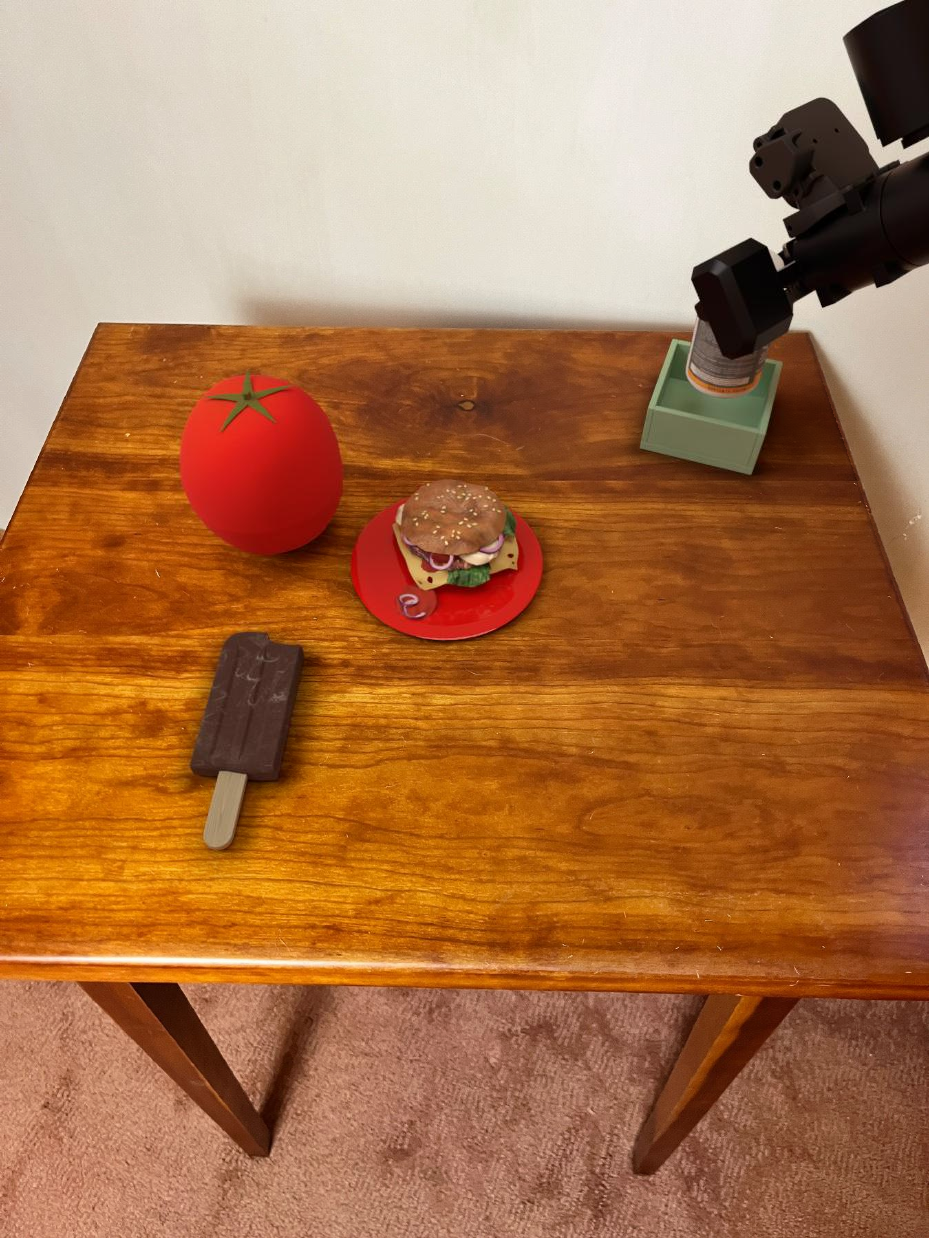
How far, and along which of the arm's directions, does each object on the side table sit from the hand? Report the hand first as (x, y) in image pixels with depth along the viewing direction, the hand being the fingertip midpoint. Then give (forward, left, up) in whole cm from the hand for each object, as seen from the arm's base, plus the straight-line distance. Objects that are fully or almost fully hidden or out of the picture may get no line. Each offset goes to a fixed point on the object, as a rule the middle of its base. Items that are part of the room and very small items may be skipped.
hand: (726, 296), depth 66 cm
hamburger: (+14, +22, -12) cm, 28 cm away
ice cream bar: (+21, +40, -12) cm, 46 cm away
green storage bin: (-1, +1, -12) cm, 12 cm away
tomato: (+27, +23, -12) cm, 37 cm away
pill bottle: (-1, +1, -7) cm, 7 cm away
